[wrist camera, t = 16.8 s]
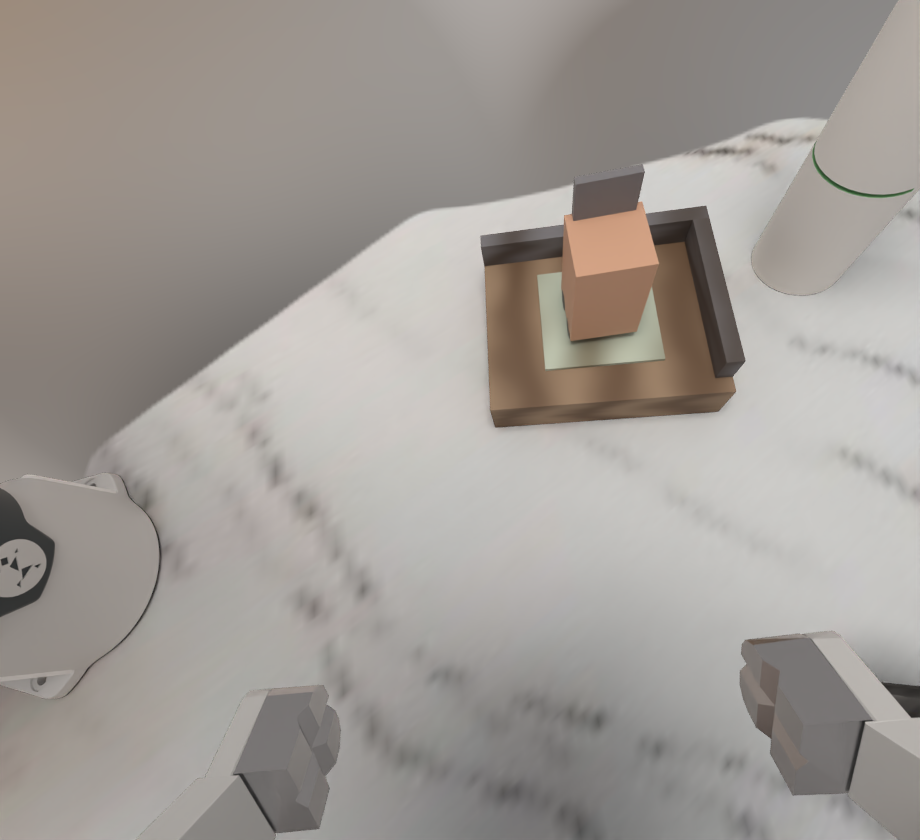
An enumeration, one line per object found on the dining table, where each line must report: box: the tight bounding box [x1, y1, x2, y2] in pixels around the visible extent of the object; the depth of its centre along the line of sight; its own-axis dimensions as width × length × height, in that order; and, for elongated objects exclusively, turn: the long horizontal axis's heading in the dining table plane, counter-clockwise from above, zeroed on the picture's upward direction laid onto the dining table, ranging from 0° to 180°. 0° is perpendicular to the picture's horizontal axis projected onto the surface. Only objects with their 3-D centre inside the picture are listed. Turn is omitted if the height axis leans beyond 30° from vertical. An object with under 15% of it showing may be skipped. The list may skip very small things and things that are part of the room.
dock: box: [481, 206, 745, 427], centre depth 40 cm, size 18×15×6 cm
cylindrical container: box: [751, 0, 920, 295], centre depth 31 cm, size 7×7×25 cm
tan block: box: [561, 164, 659, 341], centre depth 33 cm, size 5×5×12 cm
